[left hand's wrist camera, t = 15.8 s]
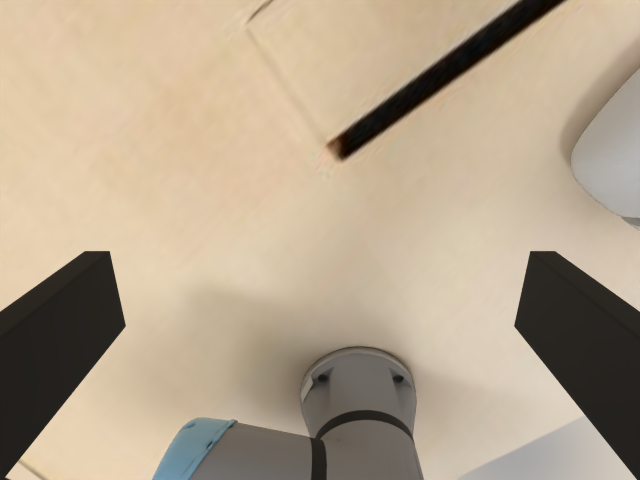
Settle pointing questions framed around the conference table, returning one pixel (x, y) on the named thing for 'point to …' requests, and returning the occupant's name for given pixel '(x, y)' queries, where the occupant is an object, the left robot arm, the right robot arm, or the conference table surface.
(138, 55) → the conference table surface
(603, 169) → the projector
